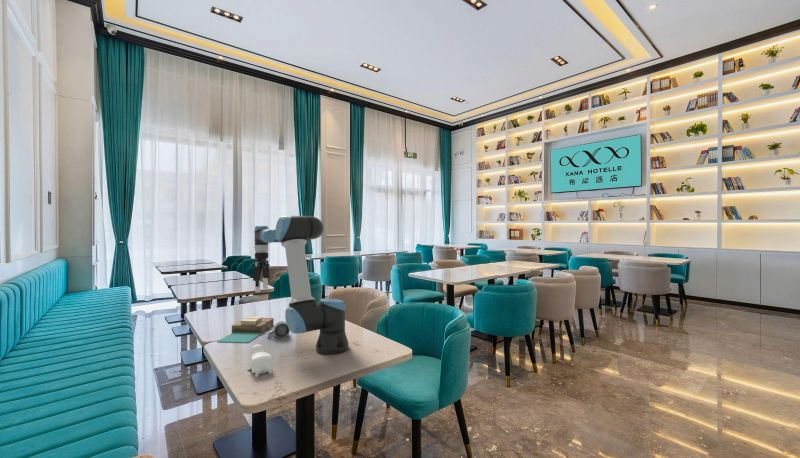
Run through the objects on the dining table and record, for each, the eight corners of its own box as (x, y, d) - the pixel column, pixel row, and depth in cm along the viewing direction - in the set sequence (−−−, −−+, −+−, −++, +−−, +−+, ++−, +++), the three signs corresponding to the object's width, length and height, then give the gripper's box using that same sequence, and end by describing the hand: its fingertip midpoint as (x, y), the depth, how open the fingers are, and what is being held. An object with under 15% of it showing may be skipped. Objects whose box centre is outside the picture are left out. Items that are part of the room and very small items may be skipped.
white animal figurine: (274, 379, 138) (266, 354, 149) (276, 362, 135) (268, 338, 147) (251, 384, 133) (244, 358, 145) (252, 367, 130) (246, 341, 142)
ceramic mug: (288, 332, 187) (288, 318, 187) (289, 337, 180) (289, 322, 179) (267, 335, 183) (266, 321, 183) (267, 340, 175) (267, 325, 175)
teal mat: (248, 343, 171) (248, 342, 171) (217, 342, 172) (217, 341, 172) (262, 333, 186) (262, 332, 186) (233, 333, 187) (233, 332, 187)
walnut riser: (260, 333, 186) (260, 326, 186) (231, 332, 187) (231, 325, 187) (273, 324, 202) (273, 318, 202) (246, 324, 203) (246, 317, 203)
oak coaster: (255, 324, 188) (255, 321, 188) (240, 324, 189) (240, 320, 189) (262, 320, 196) (262, 317, 196) (248, 320, 197) (248, 316, 197)
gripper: (263, 250, 215) (263, 287, 215) (246, 253, 193) (246, 294, 194) (275, 250, 214) (275, 287, 215) (259, 253, 193) (259, 294, 193)
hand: (261, 290), depth 204 cm, fingers open, 9 cm apart
